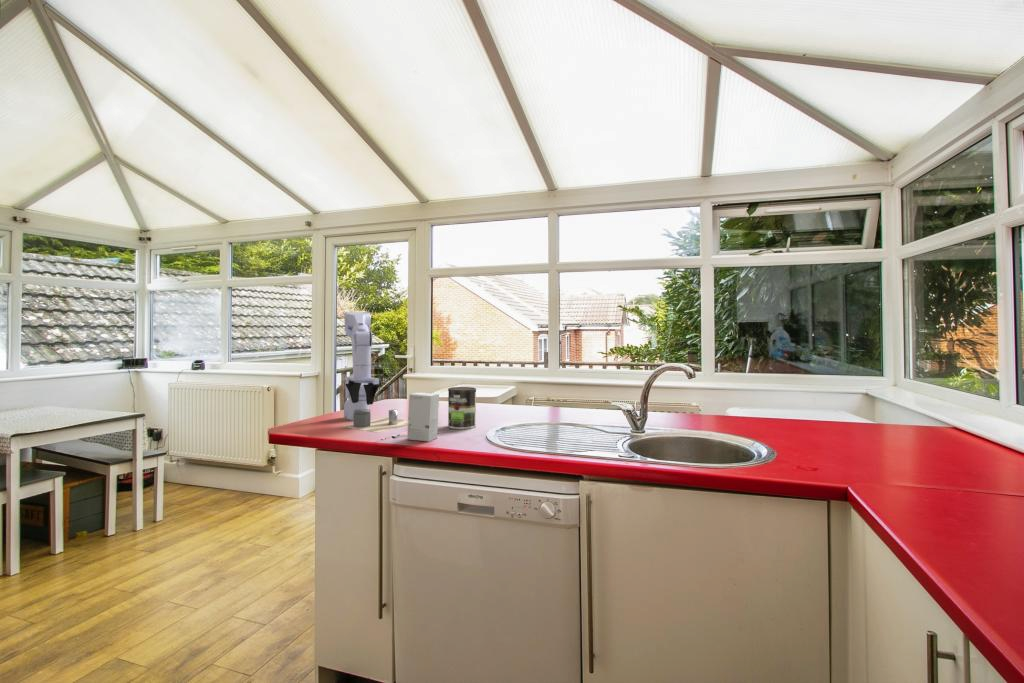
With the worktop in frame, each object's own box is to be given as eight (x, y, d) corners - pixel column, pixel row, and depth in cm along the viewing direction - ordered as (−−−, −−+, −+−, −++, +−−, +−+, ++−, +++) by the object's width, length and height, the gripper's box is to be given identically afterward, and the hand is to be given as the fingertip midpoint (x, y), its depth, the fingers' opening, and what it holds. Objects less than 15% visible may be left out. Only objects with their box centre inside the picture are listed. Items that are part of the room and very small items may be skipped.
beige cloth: (341, 430, 166) (341, 426, 166) (386, 421, 184) (386, 417, 184) (376, 436, 157) (376, 432, 157) (420, 426, 174) (420, 422, 174)
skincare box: (407, 440, 152) (407, 394, 152) (417, 436, 158) (417, 391, 158) (430, 442, 150) (430, 395, 149) (439, 438, 155) (439, 392, 155)
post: (386, 428, 170) (386, 410, 170) (393, 427, 173) (393, 409, 173) (392, 429, 169) (392, 411, 169) (399, 427, 171) (399, 410, 171)
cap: (350, 426, 167) (350, 410, 167) (363, 423, 172) (363, 408, 171) (361, 427, 164) (361, 412, 164) (373, 425, 169) (373, 409, 168)
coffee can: (469, 430, 168) (469, 390, 168) (443, 428, 171) (443, 389, 171) (480, 424, 178) (480, 387, 178) (454, 423, 181) (454, 386, 181)
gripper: (339, 365, 168) (339, 403, 168) (367, 366, 160) (367, 406, 160) (355, 363, 174) (355, 400, 174) (383, 365, 166) (383, 404, 166)
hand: (362, 403), depth 168 cm, fingers open, 7 cm apart
